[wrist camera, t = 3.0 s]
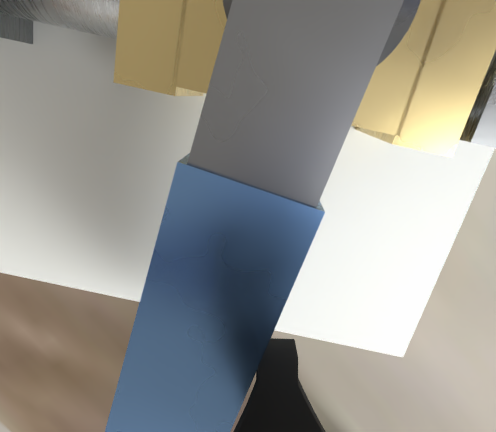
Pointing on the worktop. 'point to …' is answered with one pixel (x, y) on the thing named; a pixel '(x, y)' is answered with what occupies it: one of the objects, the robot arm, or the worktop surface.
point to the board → (159, 183)
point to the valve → (376, 95)
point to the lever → (247, 204)
